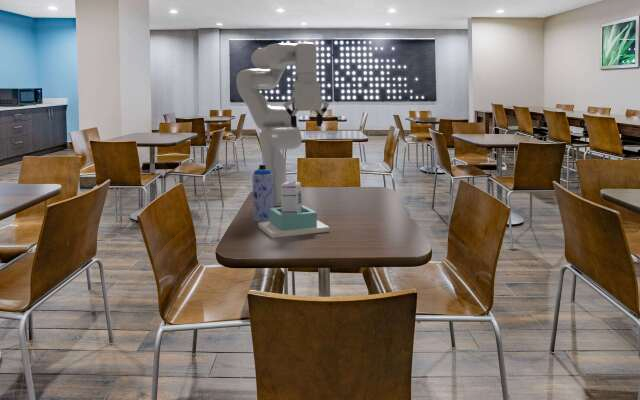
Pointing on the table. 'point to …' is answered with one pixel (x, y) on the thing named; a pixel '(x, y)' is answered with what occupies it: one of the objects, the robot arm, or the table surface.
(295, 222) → the socket board
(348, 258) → the table surface
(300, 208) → the syrup box
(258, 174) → the aerosol can
